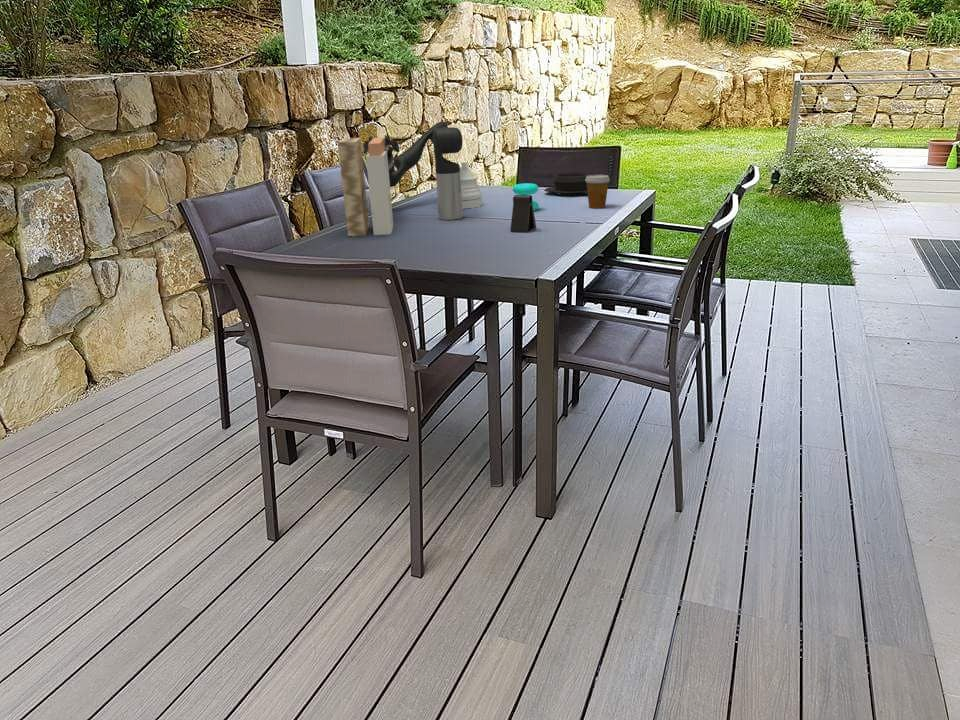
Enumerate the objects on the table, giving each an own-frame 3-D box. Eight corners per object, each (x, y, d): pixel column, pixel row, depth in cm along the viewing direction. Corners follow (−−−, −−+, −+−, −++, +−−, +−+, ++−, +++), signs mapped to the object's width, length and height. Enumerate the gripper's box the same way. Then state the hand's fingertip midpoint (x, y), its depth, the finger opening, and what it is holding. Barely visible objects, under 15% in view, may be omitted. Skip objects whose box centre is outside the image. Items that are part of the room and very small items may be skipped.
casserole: (605, 191, 331) (605, 171, 328) (594, 198, 315) (594, 177, 312) (551, 190, 340) (551, 171, 337) (538, 196, 325) (537, 177, 322)
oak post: (369, 226, 277) (360, 137, 266) (365, 235, 262) (355, 141, 251) (353, 227, 277) (343, 138, 266) (348, 236, 262) (337, 142, 251)
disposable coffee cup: (608, 204, 298) (609, 174, 294) (610, 209, 289) (610, 177, 285) (584, 205, 299) (584, 175, 295) (585, 209, 290) (585, 178, 286)
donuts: (540, 182, 295) (535, 186, 286) (540, 208, 298) (536, 212, 289) (515, 182, 297) (510, 186, 288) (516, 208, 301) (511, 212, 292)
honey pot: (481, 208, 304) (479, 163, 297) (450, 209, 304) (447, 164, 298) (482, 203, 316) (480, 159, 309) (452, 204, 316) (449, 160, 310)
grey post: (393, 225, 278) (386, 150, 268) (390, 234, 263) (383, 155, 253) (377, 226, 277) (370, 151, 268) (373, 235, 263) (366, 156, 253)
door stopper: (526, 233, 254) (525, 197, 250) (510, 232, 257) (509, 197, 253) (536, 227, 262) (535, 193, 258) (520, 227, 264) (519, 192, 260)
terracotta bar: (385, 148, 276) (384, 137, 275) (380, 155, 254) (379, 143, 252) (374, 149, 276) (373, 138, 275) (369, 156, 254) (368, 143, 252)
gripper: (402, 165, 286) (398, 146, 270) (365, 167, 286) (358, 148, 269) (401, 147, 288) (397, 127, 271) (364, 149, 287) (358, 129, 270)
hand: (378, 137), depth 270 cm, fingers open, 4 cm apart
